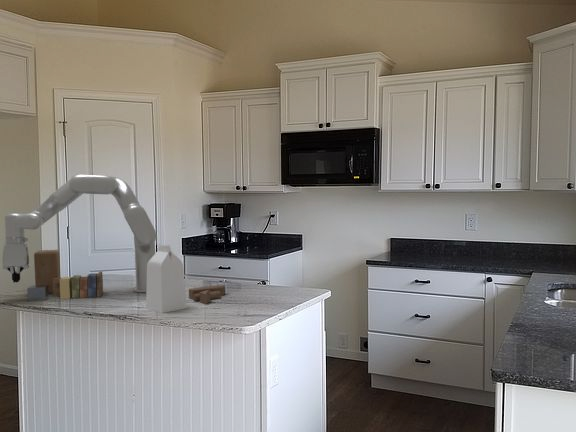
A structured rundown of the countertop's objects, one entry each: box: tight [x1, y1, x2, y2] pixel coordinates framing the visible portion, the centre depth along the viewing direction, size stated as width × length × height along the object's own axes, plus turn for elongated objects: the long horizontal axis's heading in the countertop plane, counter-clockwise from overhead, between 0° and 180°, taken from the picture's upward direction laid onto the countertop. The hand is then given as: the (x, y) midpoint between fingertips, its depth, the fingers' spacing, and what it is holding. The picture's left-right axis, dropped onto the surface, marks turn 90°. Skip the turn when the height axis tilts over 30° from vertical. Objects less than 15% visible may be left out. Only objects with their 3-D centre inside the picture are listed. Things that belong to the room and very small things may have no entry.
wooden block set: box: [188, 284, 226, 305], centre depth 240 cm, size 17×6×18 cm
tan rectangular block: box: [59, 276, 73, 300], centre depth 249 cm, size 4×6×9 cm, turn 11°
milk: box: [145, 243, 188, 314], centre depth 222 cm, size 12×12×26 cm
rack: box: [52, 271, 104, 300], centre depth 252 cm, size 22×12×10 cm, turn 102°
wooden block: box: [33, 249, 61, 295], centre depth 262 cm, size 10×10×20 cm
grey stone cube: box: [26, 285, 50, 302], centre depth 246 cm, size 8×6×6 cm
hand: (16, 281), depth 244 cm, fingers closed
